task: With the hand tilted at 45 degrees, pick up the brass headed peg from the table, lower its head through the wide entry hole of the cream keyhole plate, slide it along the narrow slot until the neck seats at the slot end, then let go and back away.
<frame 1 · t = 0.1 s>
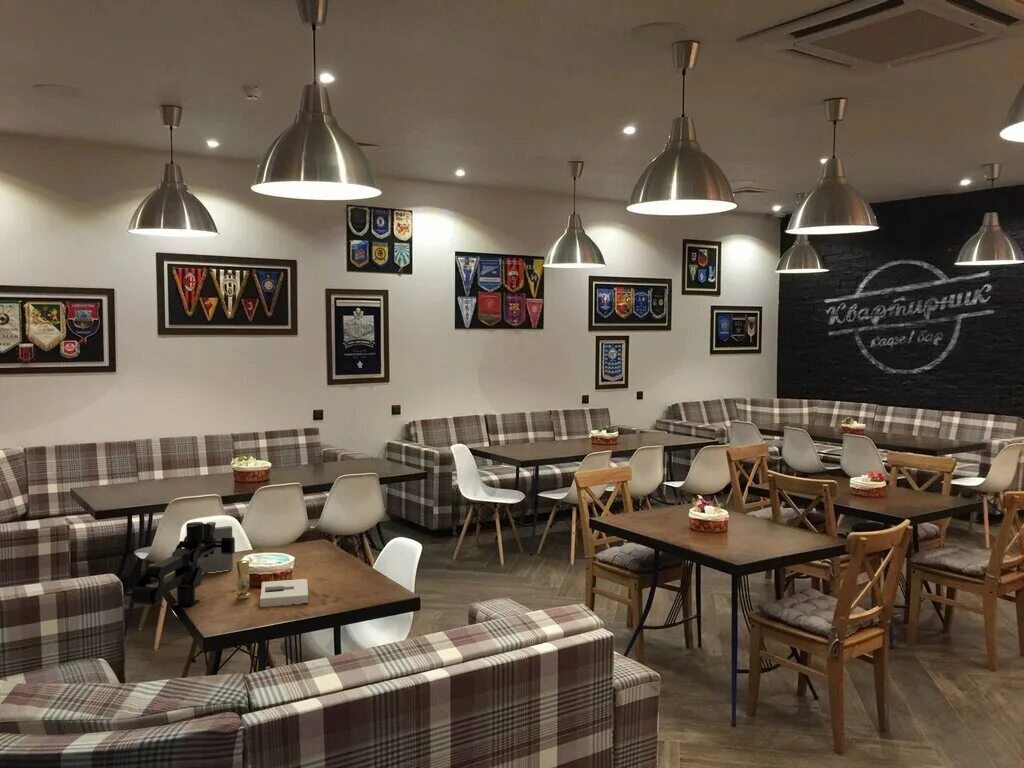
hand: (220, 539, 314), 17 cm above the table, tool horizontal, fingers open, 9 cm apart
brass peg: (243, 597, 297), on the table
hip flask: (211, 572, 328), on the table
keyhole plate: (281, 596, 298), on the table
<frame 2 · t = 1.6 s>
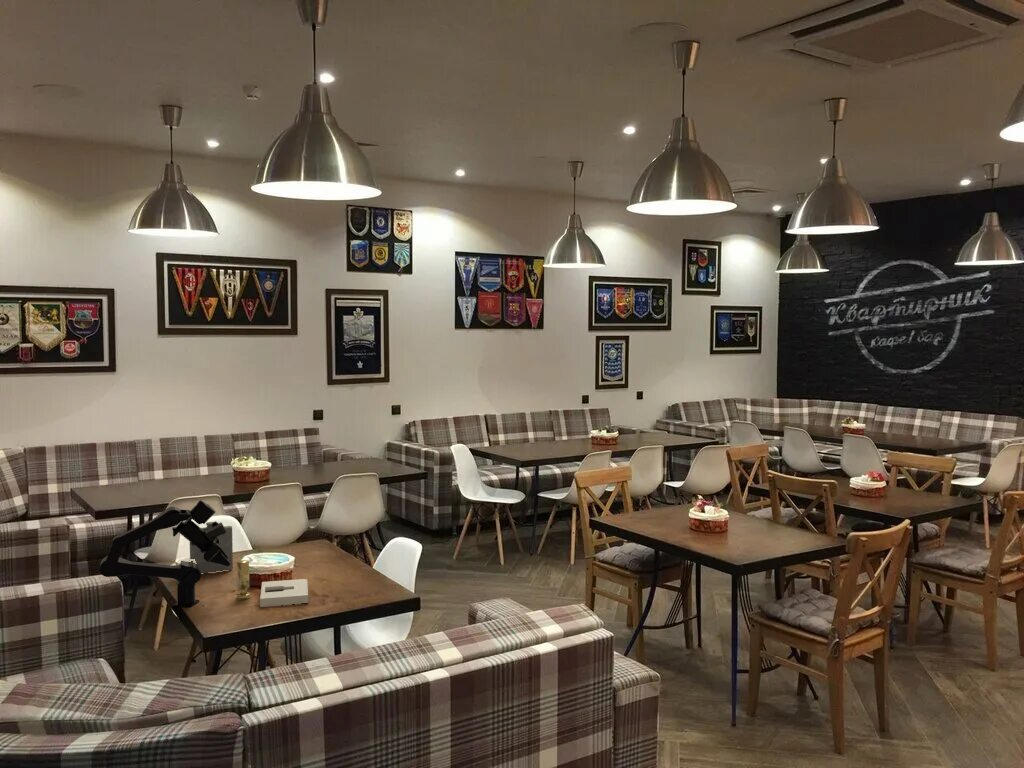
hand: (228, 561, 294), 13 cm above the table, tool tilted 45°, fingers open, 9 cm apart
nothing on the table moved.
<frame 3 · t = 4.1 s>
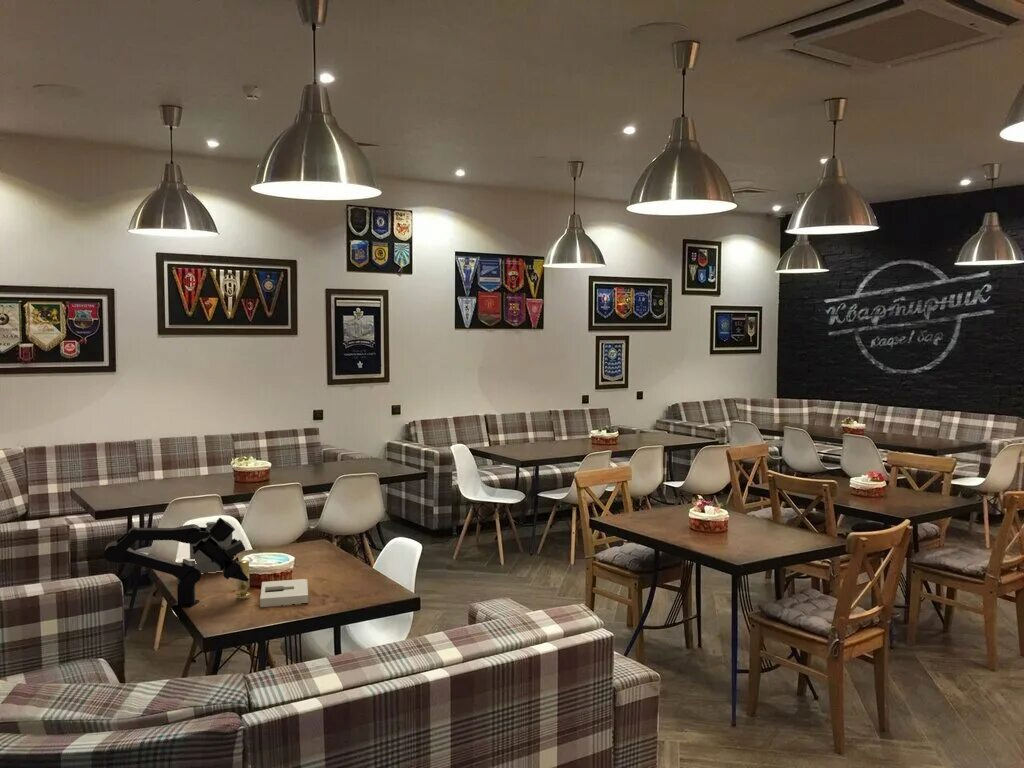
hand: (247, 578, 297), 7 cm above the table, tool tilted 45°, fingers closed on brass peg, 4 cm apart
brass peg: (243, 597, 297), on the table, touching gripper
everything else where it was.
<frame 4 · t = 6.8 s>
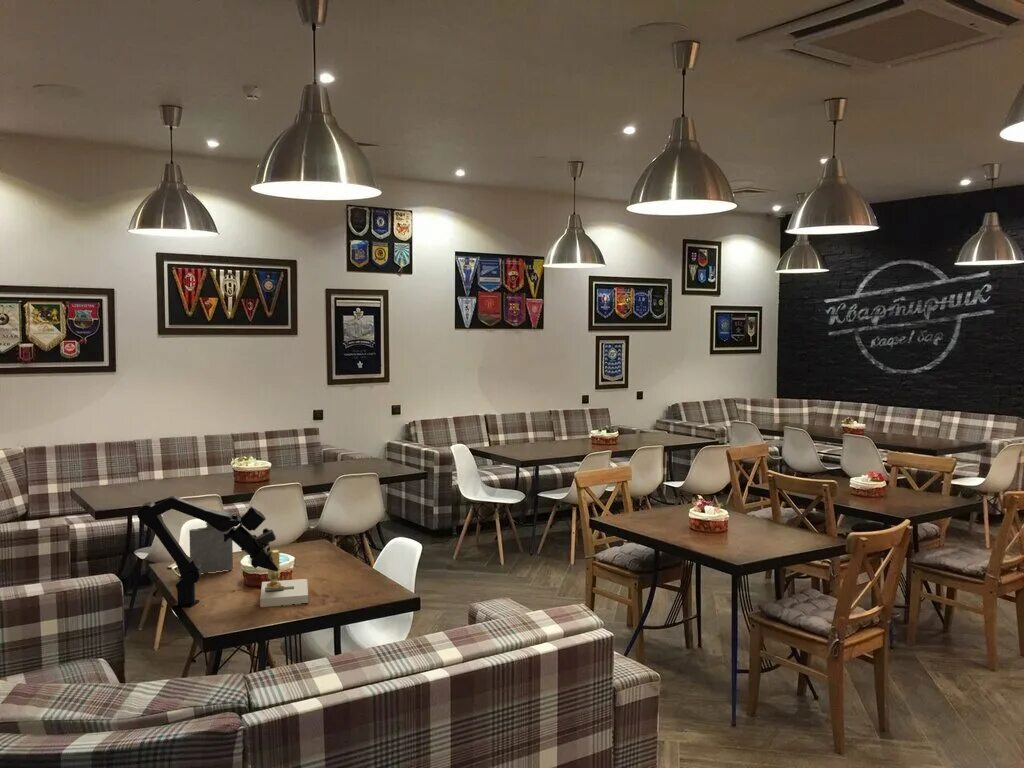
hand: (277, 568, 297), 10 cm above the table, tool tilted 45°, fingers closed on brass peg, 4 cm apart
brass peg: (273, 587, 297), point 4 cm above the table, touching gripper
everything else where it was.
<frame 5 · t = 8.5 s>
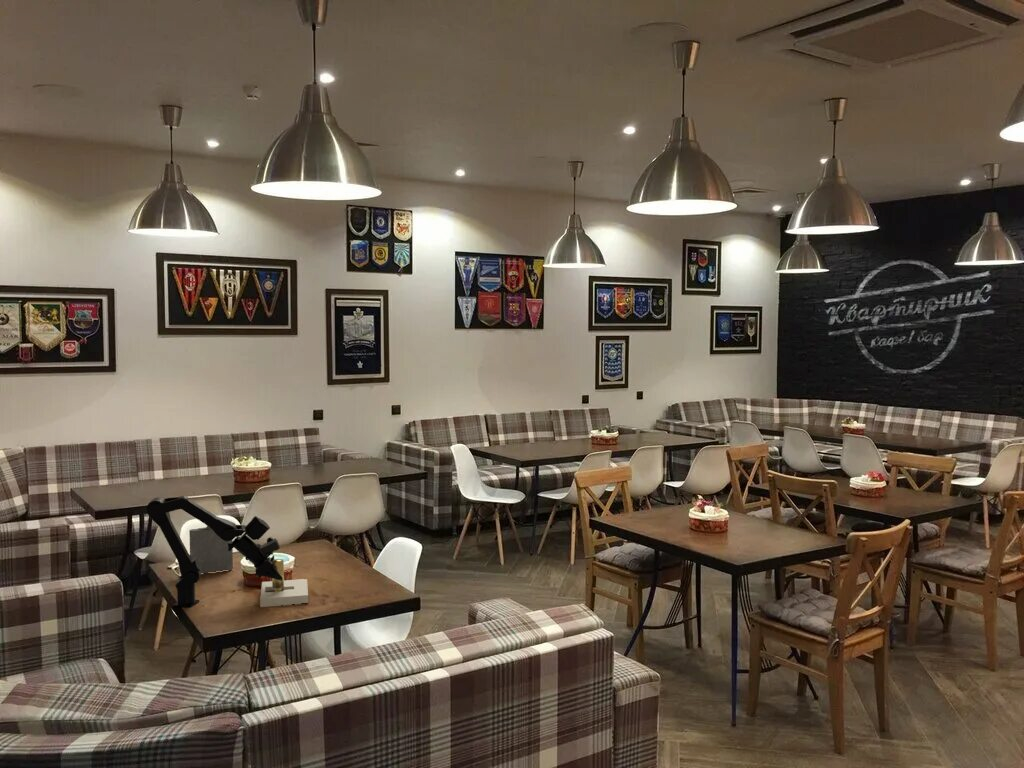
hand: (282, 577, 297), 7 cm above the table, tool tilted 45°, fingers closed on brass peg, 4 cm apart
brass peg: (278, 596, 297), resting in keyhole plate, touching gripper
everything else where it was.
when the fingers open (7 cm above the table, at t = 9.8 s): brass peg stays where it is, resting in keyhole plate.
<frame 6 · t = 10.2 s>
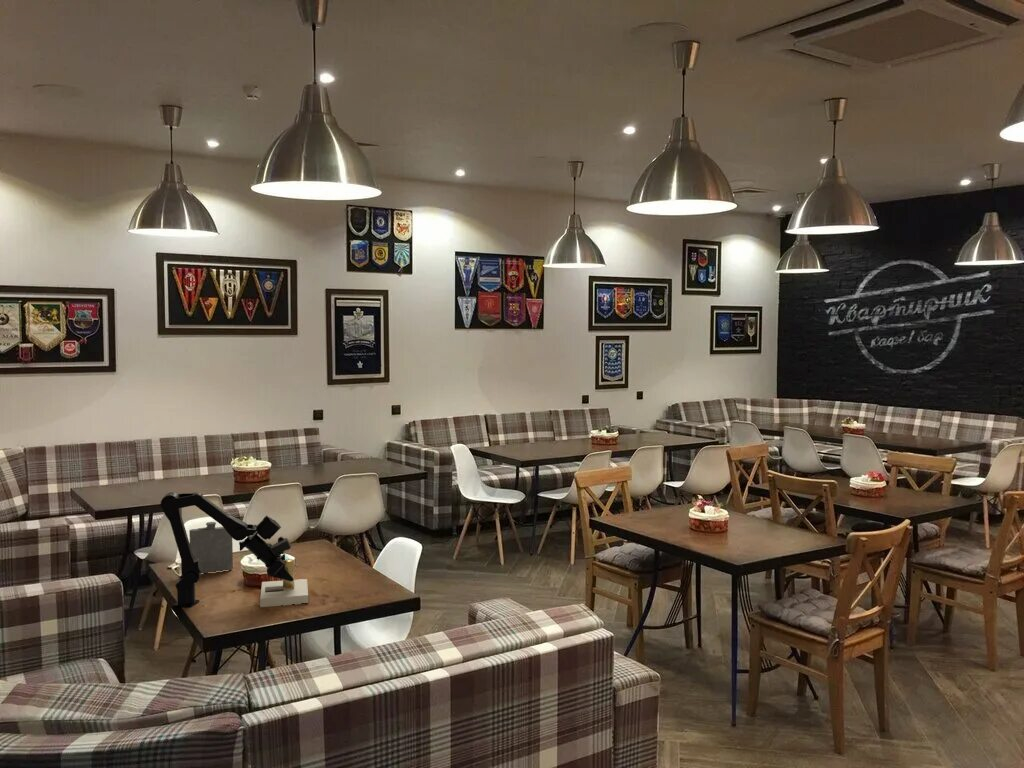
hand: (292, 577, 298), 7 cm above the table, tool tilted 45°, fingers open, 8 cm apart
brass peg: (288, 596, 298), resting in keyhole plate
everything else where it was.
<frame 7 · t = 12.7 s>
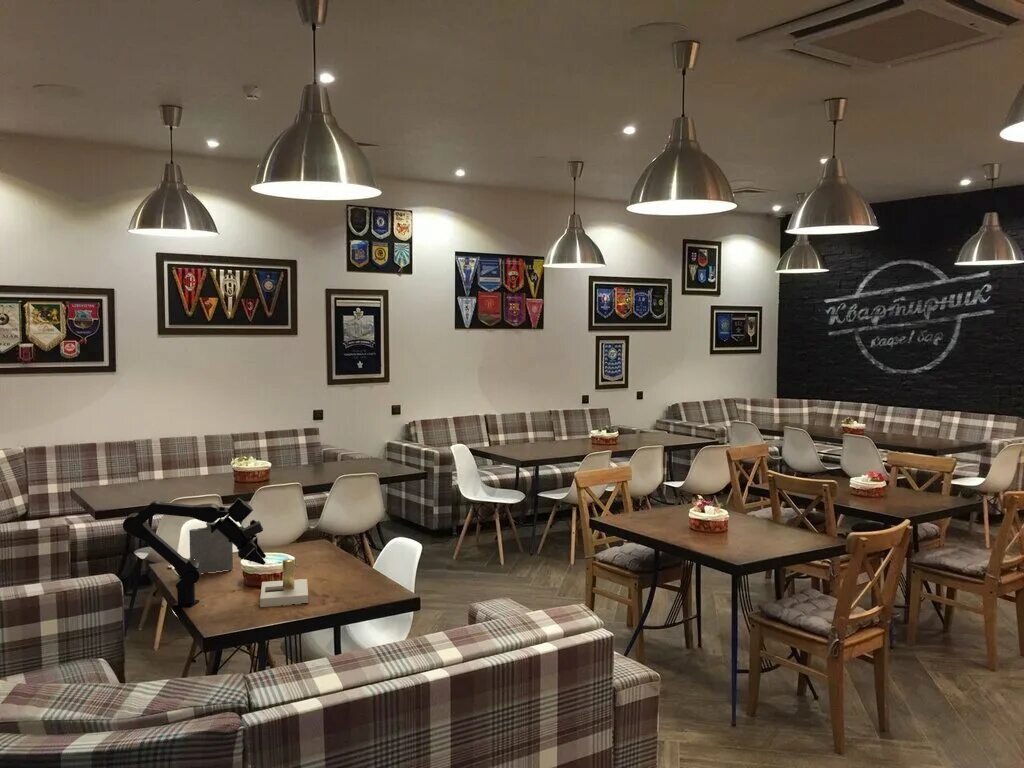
hand: (265, 560, 296), 14 cm above the table, tool tilted 45°, fingers open, 9 cm apart
nothing on the table moved.
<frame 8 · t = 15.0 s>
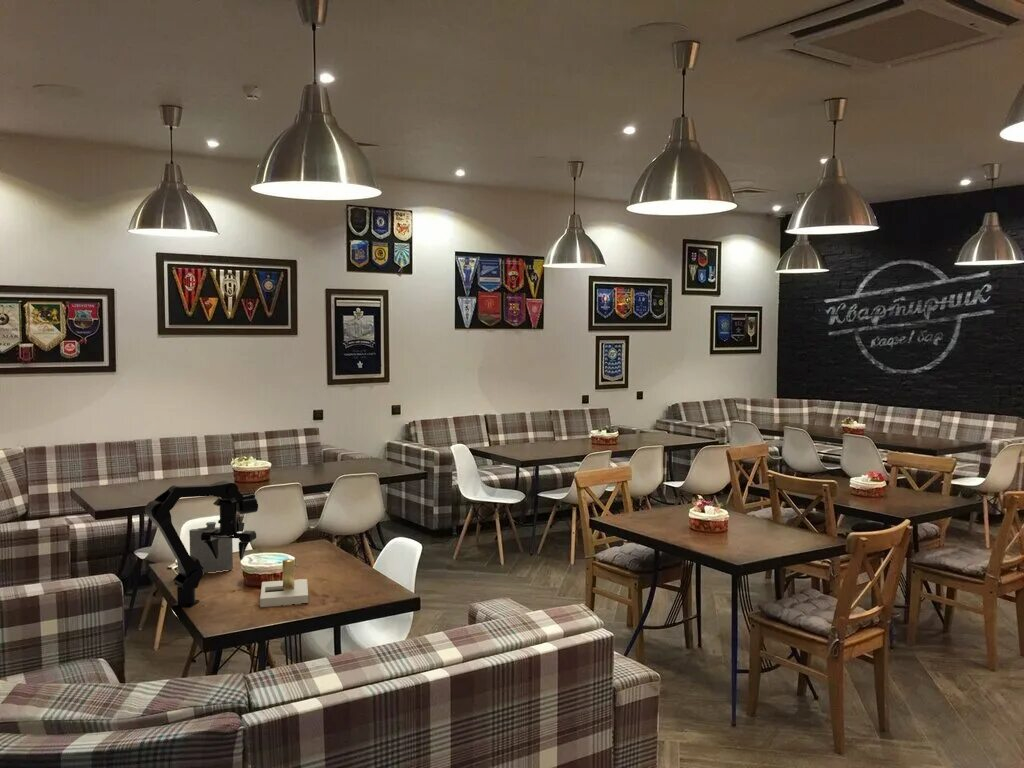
hand: (229, 559, 299), 13 cm above the table, tool pointing down, fingers open, 9 cm apart
nothing on the table moved.
at the end: brass peg 0.3 cm from the target spot on the keyhole plate, point 0.0 cm above the keyhole plate's base; brass peg tilted 0°; the gripper is holding nothing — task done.
